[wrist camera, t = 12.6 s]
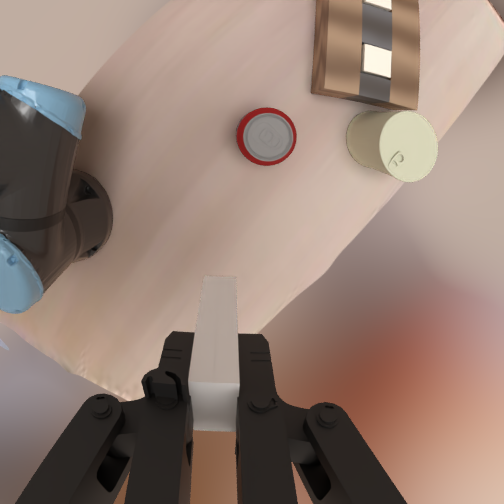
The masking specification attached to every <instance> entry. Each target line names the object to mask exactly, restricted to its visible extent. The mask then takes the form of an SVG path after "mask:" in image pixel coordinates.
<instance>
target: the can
mask: <svg viewBox="0 0 504 504" xmlns="http://www.w3.org/2000/svg"><path fill="white" fill-rule="evenodd" d="M346 141H347V146H348V150H349V152H350V154H351V155H352V157H353V158H354V159H355V160H356V161H357V162H358V163H359V164H361V165H363V166H365V167H368V168H373V169H376V170H378V171H381V172H383V173H386V174H388V175H390V176H393V177H395V178H396V179H398V180H400V181H404V182H415V181H418V180H421V179H422V178H424V177H425V176H426V175H427V174H428V173H429V172H430V171H431V169H432V168H433V166H434V164H435V161H436V158H437V153H438V143H437V137H436V134H435V132H434V129H433V127H432V126H431V124H430V123H429V122H428V121H427V120H426V119H425V118H424V117H423V116H421V115H420V114H418V113H415V112H412V111H402V112H376V111H366V112H362V113H360V114H359V115H357V116H356V117H355V118H354V119H353V120H352V121H351V123H350V125H349V127H348V130H347V135H346Z"/></svg>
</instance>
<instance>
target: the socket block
mask: <svg viewBox="0 0 504 504" xmlns="http://www.w3.org/2000/svg"><path fill="white" fill-rule="evenodd" d="M391 7H392V10H390V11H389V12H388V11H385V10H382V9H379V8H376V7H373V6H370V5H366V4H363V3H362V0H316V22H315V40H314V57H313V71H312V85H311V93H313V94H319V95H325V96H331V97H337V98H342V99H348V100H353V101H357V102H362V103H367V104H371V105H375V106H380V107H384V108H388V109H392V110H417V107H418V93H419V72H420V23H419V4H418V0H391ZM363 44H368V45H372V46H375V47H379V48H382V49H385V50H389V51H392V56H391V78H387V79H384V78H380V77H376V76H372V75H368V74H364V73H360V70H361V49H362V45H363Z"/></svg>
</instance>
